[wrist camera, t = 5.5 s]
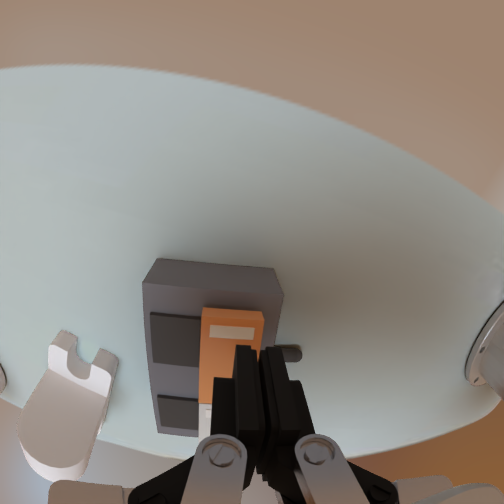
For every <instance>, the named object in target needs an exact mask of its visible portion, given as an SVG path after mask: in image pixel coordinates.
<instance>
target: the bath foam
mask: <svg viewBox="0 0 504 504" xmlns="http://www.w3.org/2000/svg"><path fill="white" fill-rule="evenodd" d="M5 385H6V380H5V376H4V373H3V371H2V368H1V367H0V394H1V393H2V391H3V390H4V388H5Z"/></svg>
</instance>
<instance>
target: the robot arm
mask: <svg viewBox="0 0 504 504" xmlns="http://www.w3.org/2000/svg"><path fill="white" fill-rule="evenodd" d="M465 373H466V378H467V380H468V381H469V382H470V384H471V385H473V386H480V385H483V384H485V383H488V384H489V385H490V386H491V387H492V388H493V389H494V390H495V392H496V393H497V394H498V395H499V396H500V397H501V398H502V399H503V400H504V303H503V304H502V305H501V306H500V307H499V308H498V310H497V311H496V312H495V313H494V314H493V316H492V317H491V318H490V320H489V321H488V323H487V324H486V326H485V327H484V329H483V330H482V332H481V334H480V335H479V337H478V339H477V341H476V343H475V344H474V346H473V348H472V351H471V353H470V356H469V358H468V362H467V365H466V371H465ZM255 466H256V471H257V474H262V479H263V481H268V485H269V486H270V487H272V488H273V489H275V493H276V498H277V501H278V504H504V495H503V493H502V492H501V491H500V490H499V489H498V488H497V487H495V486H493V485H491V484H486V483H471V484H465V485H460V486H457V487H454V488H453V485H452V483H451V481H450V480H449V479H448V478H447V477H445V476H443V475H434V476H427V477H419V478H411V479H400V480H396V481H395V482H390V481H388V480H386V479H384V478H382V477H380V476H378V475H375V474H373V473H371V472H369V471H367V470H365V469H362V468H361V467H359V466H357V465H355V464H353V463H351V462H348V461H347V460H346V459H345V457H344V455H343V453H342V451H341V449H340V448H339V446H338V445H337V443H336V442H335V441H334V440H333V439H331V438H330V437H327V436H325V435H320V434H315V430H314V427H313V423H312V419H311V416H310V412H309V409H308V405H307V402H306V398H305V395H304V391H303V388H302V384H301V382H300V381H299V380H289V377H288V373H287V369H286V365H285V361H284V356H283V352H282V349H281V347H270V346H266V348H265V350H260V353H259V358H258V359H257V351H256V350H255V349H251V345H237V344H236V348H235V356H234V365H233V373H232V378H222V377H214V380H213V395H212V410H211V428H210V436H208V437H206V438H204V439H203V440H202V441H201V442H200V443H199V445H198V447H197V449H196V453H195V455H194V456H192V457H190V458H189V459H187V460H185V461H184V462H182V463H180V464H179V465H177V466H175V467H173V468H171V469H170V470H168V471H166V472H164V473H162V474H161V475H159V476H157V477H155V478H153V479H151V480H149V481H148V482H145V483H144V484H141V485H139V486H137V487H136V488H122V486H117V485H104V484H103V485H102V484H94V483H86V482H78V481H72V480H58V481H56V482H54V483H53V484H52V485H51V486H50V489H49V495H48V504H241V497H242V491H243V490H244V489H245V488H247V487H248V486H249V485H250V482H251V479H252V475H253V472H254V469H255Z"/></svg>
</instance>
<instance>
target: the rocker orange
mask: <svg viewBox="0 0 504 504" xmlns="http://www.w3.org/2000/svg"><path fill="white" fill-rule="evenodd" d="M263 327H264V317H263V314H262V311H246V310H232V309H218V308H206V307H203V310H202V318H201V339H200V364H199V403H208V404H212V395H213V380H214V377H222V378H232V373H233V365H234V356H235V348H236V344H237V345H251V349H255V350H256V351H257V359H258V358H259V353H260V347H261V341H262V334H263Z"/></svg>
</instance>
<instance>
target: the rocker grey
mask: <svg viewBox="0 0 504 504" xmlns="http://www.w3.org/2000/svg"><path fill="white" fill-rule="evenodd" d="M211 410H212V404H208V403H199V443H200V442H201V441H202V440H203V439H204V438H206V437H208V436H210V428H211Z"/></svg>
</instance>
